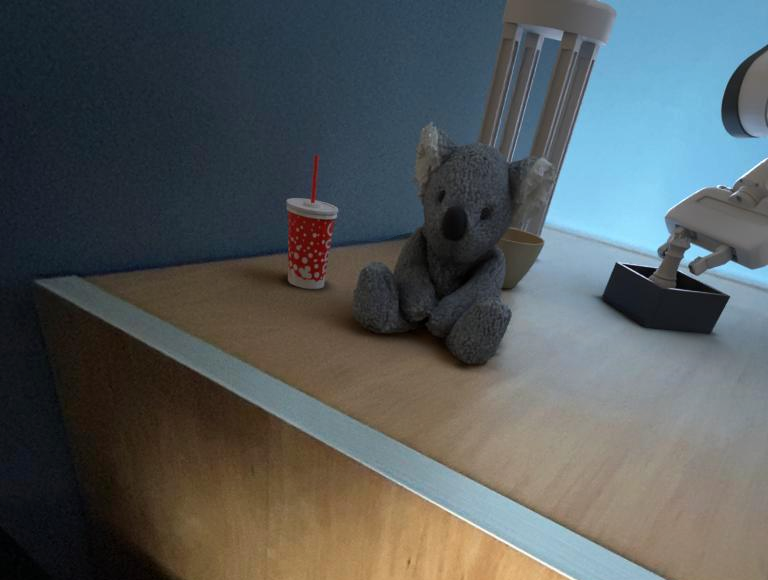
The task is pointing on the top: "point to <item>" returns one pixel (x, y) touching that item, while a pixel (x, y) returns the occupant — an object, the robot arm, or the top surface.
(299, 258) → the beverage cup
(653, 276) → the rook chess piece
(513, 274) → the flower pot
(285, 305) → the top surface
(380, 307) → the koala plush
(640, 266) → the bin
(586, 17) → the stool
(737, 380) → the top surface
